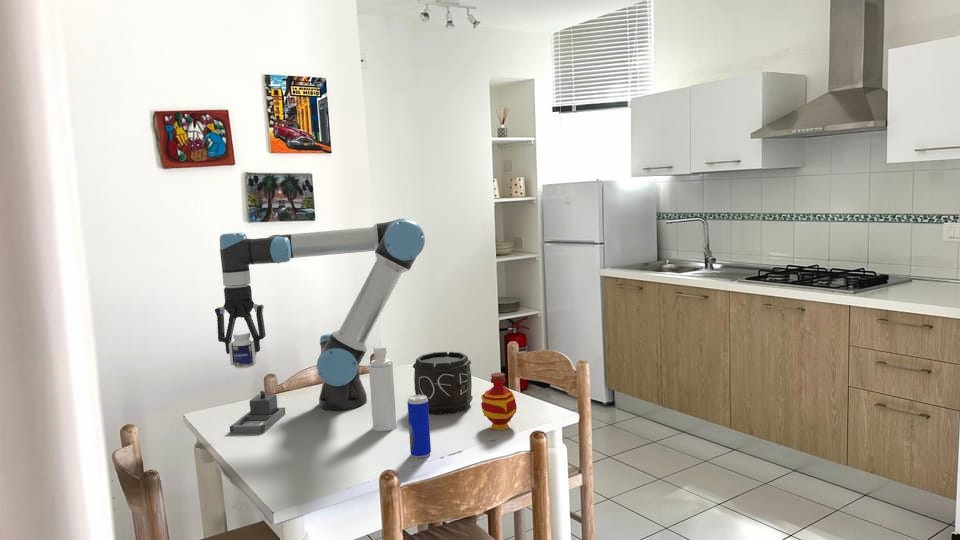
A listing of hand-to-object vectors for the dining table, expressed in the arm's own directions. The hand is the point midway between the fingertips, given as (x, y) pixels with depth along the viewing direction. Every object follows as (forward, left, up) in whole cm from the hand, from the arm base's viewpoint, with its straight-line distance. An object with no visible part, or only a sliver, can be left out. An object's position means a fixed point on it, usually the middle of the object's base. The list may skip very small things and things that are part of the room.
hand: (244, 363), depth 202 cm
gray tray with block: (-2, -1, -19) cm, 19 cm away
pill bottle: (0, 0, -1) cm, 1 cm away
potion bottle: (-75, +6, -19) cm, 77 cm away
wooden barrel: (-57, -13, -19) cm, 62 cm away
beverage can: (-56, +26, -19) cm, 64 cm away
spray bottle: (-42, +5, -19) cm, 46 cm away
